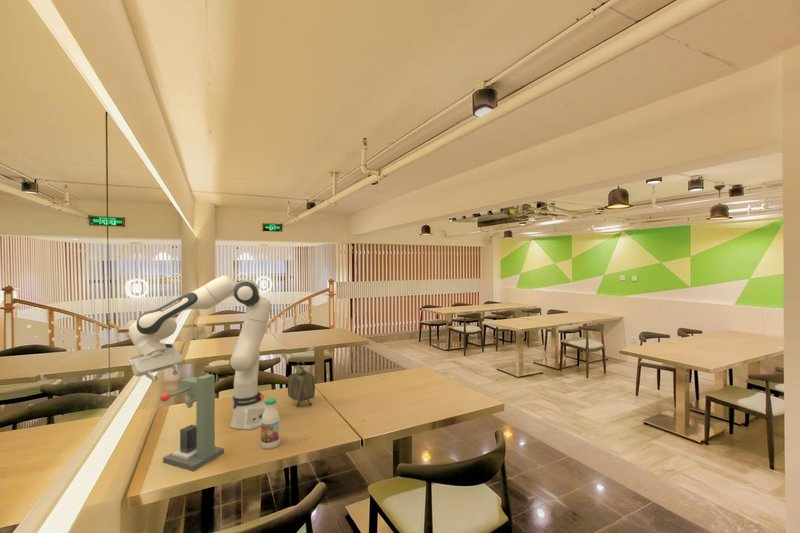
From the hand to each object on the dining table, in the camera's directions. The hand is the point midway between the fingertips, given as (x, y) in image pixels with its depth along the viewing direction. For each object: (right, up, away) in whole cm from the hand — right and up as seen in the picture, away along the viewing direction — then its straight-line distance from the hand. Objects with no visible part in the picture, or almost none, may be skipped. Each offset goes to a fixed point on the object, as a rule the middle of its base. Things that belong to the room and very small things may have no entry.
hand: (166, 377), depth 155 cm
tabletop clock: (+48, -30, +42) cm, 70 cm away
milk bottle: (+48, -29, -2) cm, 56 cm away
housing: (+17, -26, -11) cm, 34 cm away
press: (+18, -29, -16) cm, 38 cm away
